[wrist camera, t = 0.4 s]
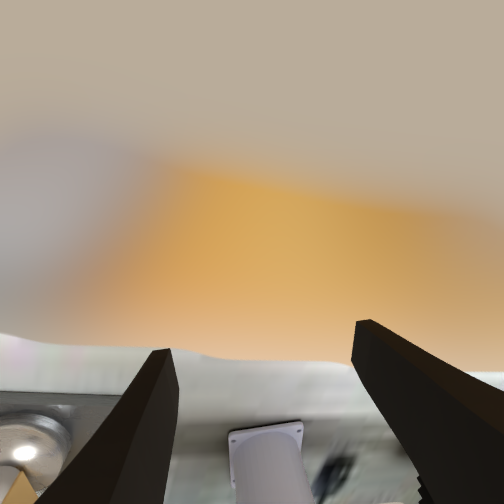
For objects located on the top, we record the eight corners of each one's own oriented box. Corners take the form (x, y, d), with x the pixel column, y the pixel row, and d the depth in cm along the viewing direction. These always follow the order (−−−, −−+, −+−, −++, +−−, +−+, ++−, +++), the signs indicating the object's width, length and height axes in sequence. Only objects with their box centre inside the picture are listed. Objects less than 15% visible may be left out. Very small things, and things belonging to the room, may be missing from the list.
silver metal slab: (160, 397, 23) (153, 431, 20) (147, 471, 27) (140, 508, 24) (-125, 386, 19) (-182, 428, 16) (-92, 478, 22) (-134, 524, 20)
